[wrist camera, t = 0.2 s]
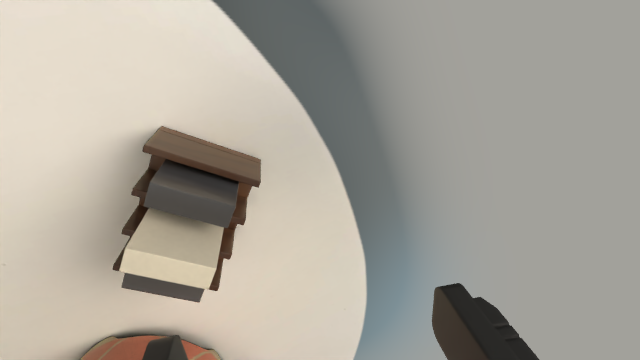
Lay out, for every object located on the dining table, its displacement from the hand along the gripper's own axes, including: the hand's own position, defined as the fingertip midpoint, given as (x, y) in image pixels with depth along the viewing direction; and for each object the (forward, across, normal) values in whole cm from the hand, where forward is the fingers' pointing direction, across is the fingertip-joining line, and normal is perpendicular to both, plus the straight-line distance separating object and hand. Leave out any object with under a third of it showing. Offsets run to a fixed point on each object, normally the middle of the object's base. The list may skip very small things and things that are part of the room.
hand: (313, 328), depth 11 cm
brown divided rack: (+23, +9, +6) cm, 25 cm away
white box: (+22, +9, +6) cm, 24 cm away
